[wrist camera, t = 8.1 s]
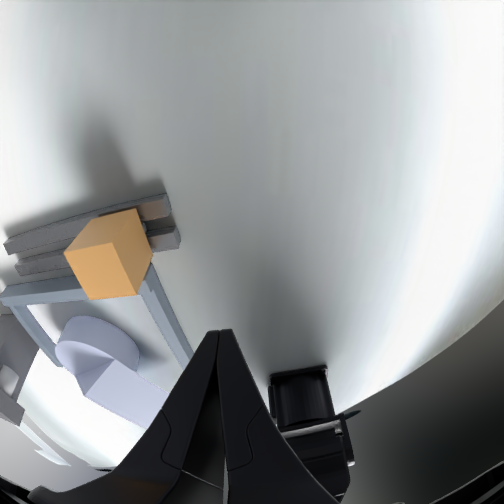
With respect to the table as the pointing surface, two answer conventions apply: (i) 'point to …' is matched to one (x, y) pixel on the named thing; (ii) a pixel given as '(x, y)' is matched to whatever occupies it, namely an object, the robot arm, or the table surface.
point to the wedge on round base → (109, 369)
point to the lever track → (74, 225)
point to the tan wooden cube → (111, 255)
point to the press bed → (33, 337)
